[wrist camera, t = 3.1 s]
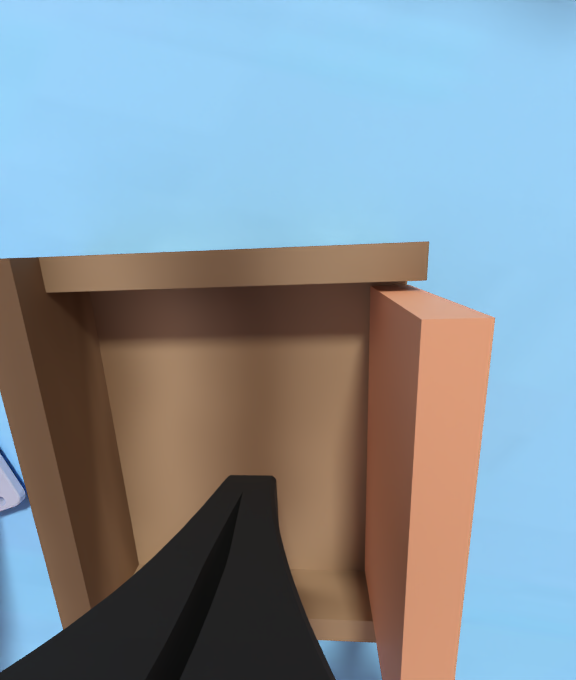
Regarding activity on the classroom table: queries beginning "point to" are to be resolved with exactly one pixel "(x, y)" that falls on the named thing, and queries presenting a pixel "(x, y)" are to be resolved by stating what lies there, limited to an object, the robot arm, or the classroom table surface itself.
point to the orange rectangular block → (422, 473)
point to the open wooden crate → (196, 406)
